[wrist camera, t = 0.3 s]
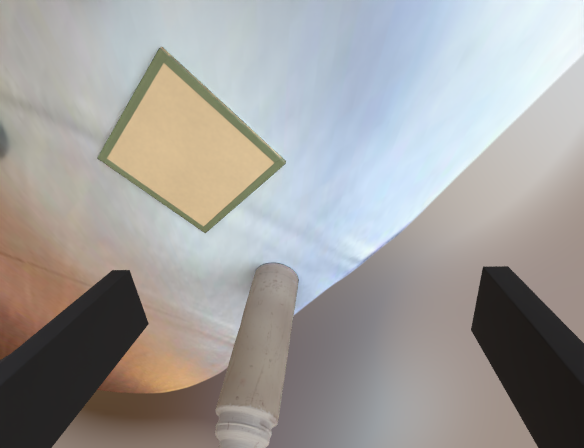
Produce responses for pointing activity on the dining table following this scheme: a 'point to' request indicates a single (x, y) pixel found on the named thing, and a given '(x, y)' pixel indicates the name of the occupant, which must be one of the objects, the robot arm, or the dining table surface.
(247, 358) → the thermos bottle
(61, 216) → the dining table surface
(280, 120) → the dining table surface
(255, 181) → the placemat
